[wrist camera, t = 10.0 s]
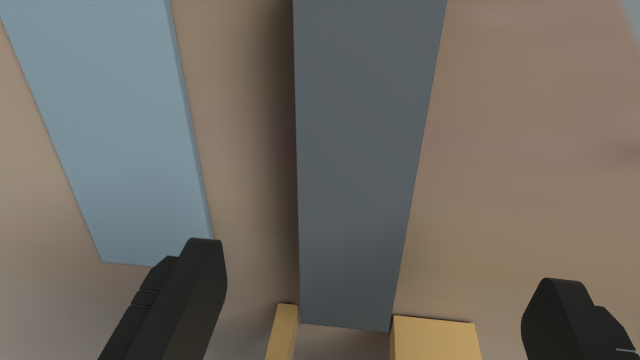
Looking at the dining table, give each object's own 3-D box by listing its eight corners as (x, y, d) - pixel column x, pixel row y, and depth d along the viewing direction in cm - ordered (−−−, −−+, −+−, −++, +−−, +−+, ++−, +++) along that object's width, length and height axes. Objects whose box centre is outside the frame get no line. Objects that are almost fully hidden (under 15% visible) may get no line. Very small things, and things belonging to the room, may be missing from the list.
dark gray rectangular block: (386, 275, 20) (388, 332, 18) (310, 268, 21) (300, 323, 18) (436, -46, 12) (452, -29, 10) (309, -50, 13) (291, -33, 10)
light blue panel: (218, 266, 21) (216, 272, 21) (106, 255, 21) (101, 261, 21) (160, -48, 13) (155, -46, 12) (-18, -53, 13) (-28, -51, 13)
